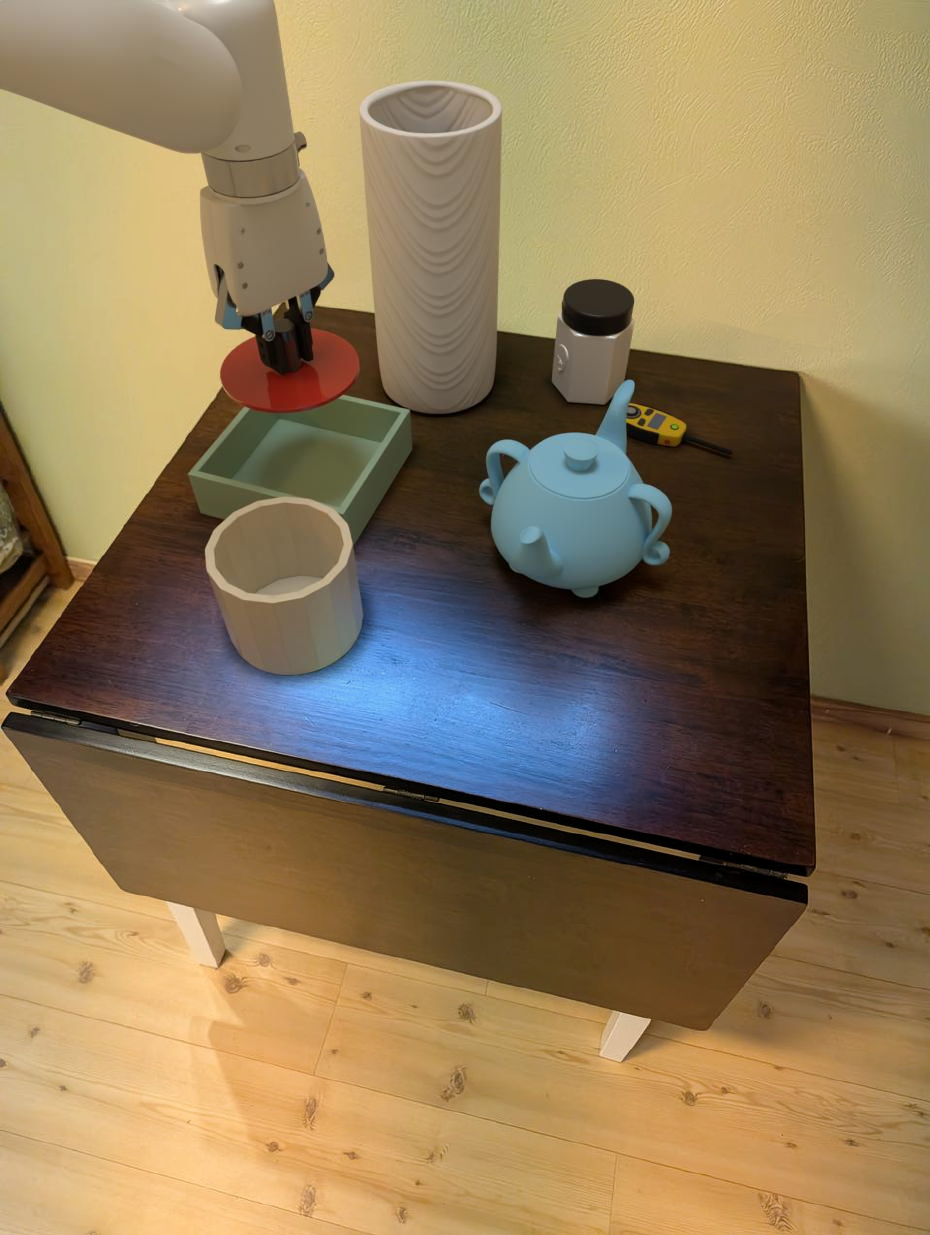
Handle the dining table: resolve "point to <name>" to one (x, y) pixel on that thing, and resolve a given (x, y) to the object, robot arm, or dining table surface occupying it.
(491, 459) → the teapot
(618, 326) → the jar
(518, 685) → the dining table surface
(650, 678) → the dining table surface
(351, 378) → the lid
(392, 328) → the vase
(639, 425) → the remote control
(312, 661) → the pot
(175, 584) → the dining table surface
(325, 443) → the green square tray
